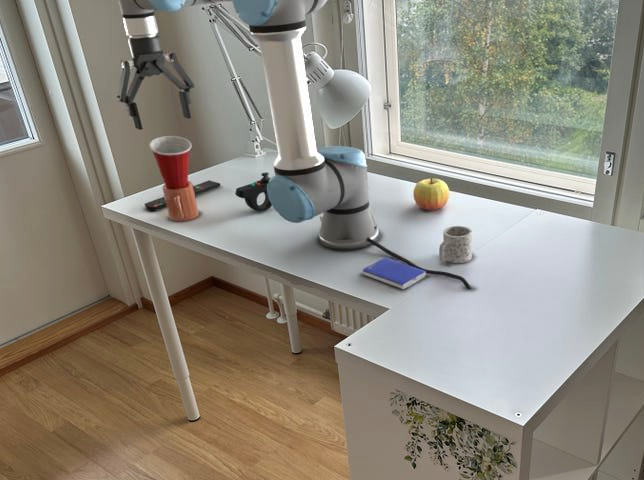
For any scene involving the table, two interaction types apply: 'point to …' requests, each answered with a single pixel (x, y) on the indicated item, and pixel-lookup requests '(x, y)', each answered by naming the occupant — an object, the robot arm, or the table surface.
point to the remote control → (197, 189)
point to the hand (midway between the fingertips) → (163, 123)
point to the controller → (255, 193)
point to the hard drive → (394, 273)
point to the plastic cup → (172, 159)
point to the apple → (431, 194)
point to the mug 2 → (456, 245)
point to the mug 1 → (181, 203)
